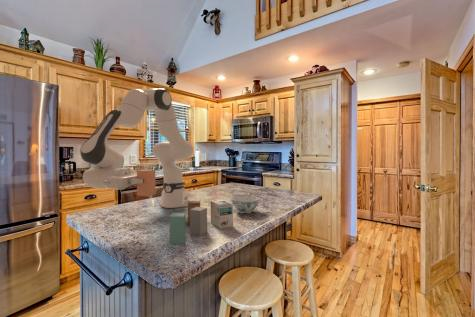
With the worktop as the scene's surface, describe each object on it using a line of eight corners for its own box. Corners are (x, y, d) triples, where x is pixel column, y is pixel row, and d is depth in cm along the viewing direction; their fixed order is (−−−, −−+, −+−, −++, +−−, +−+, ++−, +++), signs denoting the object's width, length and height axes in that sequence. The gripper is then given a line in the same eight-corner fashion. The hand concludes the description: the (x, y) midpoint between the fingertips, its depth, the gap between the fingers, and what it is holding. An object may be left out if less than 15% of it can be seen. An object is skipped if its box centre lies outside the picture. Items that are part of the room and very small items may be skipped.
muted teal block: (172, 238, 90) (172, 212, 90) (185, 238, 91) (185, 212, 90) (169, 243, 85) (169, 216, 85) (183, 243, 86) (183, 216, 85)
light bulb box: (233, 227, 104) (233, 202, 104) (219, 229, 101) (219, 204, 100) (223, 220, 113) (222, 198, 113) (210, 222, 110) (209, 200, 109)
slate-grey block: (197, 229, 100) (196, 206, 100) (207, 231, 98) (206, 207, 98) (190, 233, 95) (189, 209, 95) (200, 235, 93) (200, 210, 93)
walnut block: (189, 221, 112) (189, 200, 111) (200, 221, 112) (200, 200, 111) (187, 225, 107) (187, 203, 106) (198, 224, 107) (198, 203, 106)
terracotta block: (145, 193, 98) (144, 169, 98) (155, 194, 97) (155, 169, 97) (137, 195, 93) (136, 170, 93) (148, 196, 92) (147, 170, 92)
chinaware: (244, 217, 118) (244, 202, 117) (226, 211, 129) (226, 197, 129) (265, 212, 127) (265, 198, 127) (246, 207, 139) (246, 194, 138)
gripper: (98, 173, 88) (130, 175, 85) (135, 169, 108) (162, 170, 104) (99, 190, 88) (130, 192, 85) (135, 183, 108) (162, 184, 105)
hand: (148, 180), depth 95 cm, fingers closed on terracotta block, 5 cm apart
